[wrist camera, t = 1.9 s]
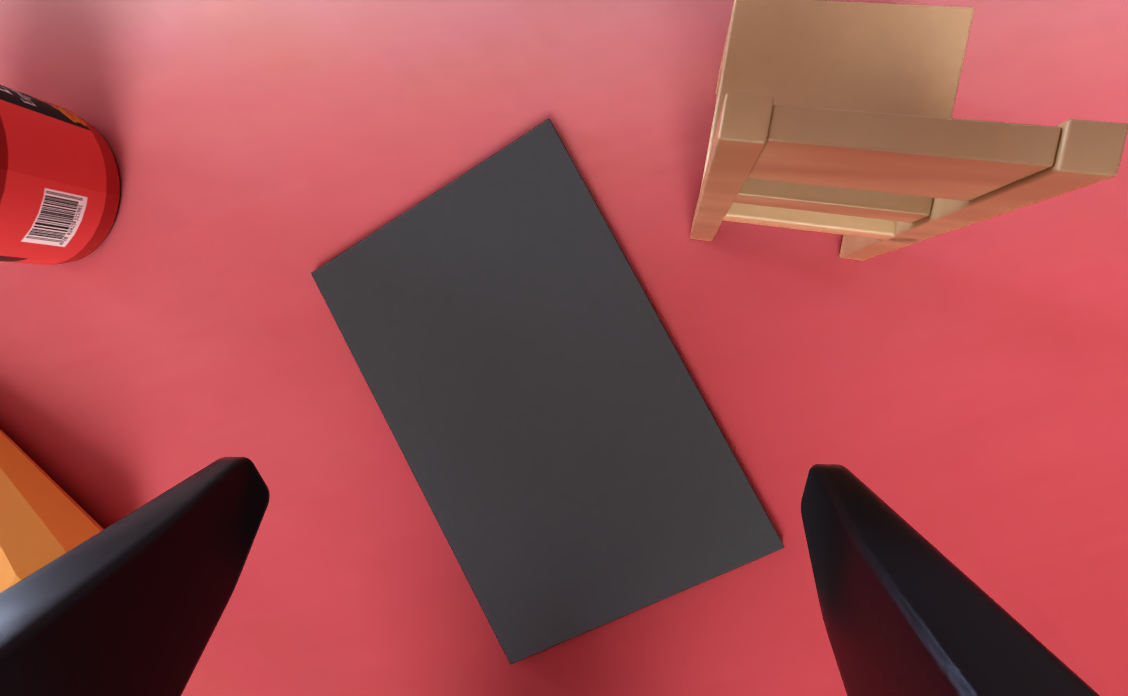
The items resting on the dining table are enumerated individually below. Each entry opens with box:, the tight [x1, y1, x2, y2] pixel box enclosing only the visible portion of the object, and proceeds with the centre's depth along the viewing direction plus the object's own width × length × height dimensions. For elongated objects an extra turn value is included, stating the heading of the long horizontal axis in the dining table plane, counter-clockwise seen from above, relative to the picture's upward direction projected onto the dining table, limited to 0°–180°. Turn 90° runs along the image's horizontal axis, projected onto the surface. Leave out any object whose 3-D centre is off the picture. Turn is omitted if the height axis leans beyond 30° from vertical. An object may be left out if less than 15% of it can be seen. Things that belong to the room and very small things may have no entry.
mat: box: [311, 119, 784, 664], centre depth 23 cm, size 20×13×1 cm, turn 29°
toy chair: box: [690, 0, 1128, 261], centre depth 15 cm, size 7×7×12 cm
